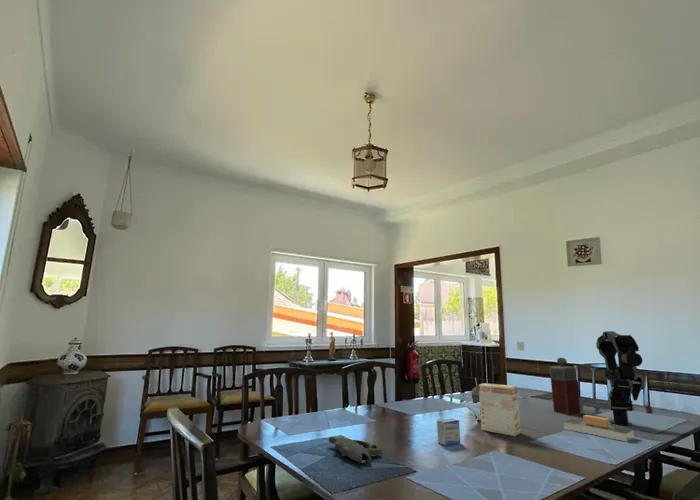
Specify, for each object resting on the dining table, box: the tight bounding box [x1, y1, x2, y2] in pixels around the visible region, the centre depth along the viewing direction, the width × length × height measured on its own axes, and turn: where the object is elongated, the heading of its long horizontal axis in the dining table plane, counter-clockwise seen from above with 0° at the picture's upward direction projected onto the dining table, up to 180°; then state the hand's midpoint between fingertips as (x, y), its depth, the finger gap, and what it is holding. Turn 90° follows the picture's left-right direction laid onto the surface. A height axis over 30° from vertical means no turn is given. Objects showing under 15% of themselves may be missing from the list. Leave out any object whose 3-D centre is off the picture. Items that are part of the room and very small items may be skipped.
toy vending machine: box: [549, 357, 582, 416], centre depth 208 cm, size 9×11×28 cm
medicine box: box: [436, 418, 461, 447], centre depth 155 cm, size 8×4×9 cm, turn 117°
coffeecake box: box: [478, 382, 522, 437], centre depth 172 cm, size 15×7×20 cm, turn 47°
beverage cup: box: [470, 377, 480, 420], centre depth 192 cm, size 7×7×20 cm
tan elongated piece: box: [328, 436, 382, 464], centre depth 143 cm, size 5×25×15 cm
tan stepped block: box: [582, 414, 611, 429], centre depth 167 cm, size 4×9×6 cm, turn 37°
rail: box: [563, 419, 635, 443], centre depth 167 cm, size 8×24×3 cm, turn 37°
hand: (631, 401), depth 168 cm, fingers open, 9 cm apart
